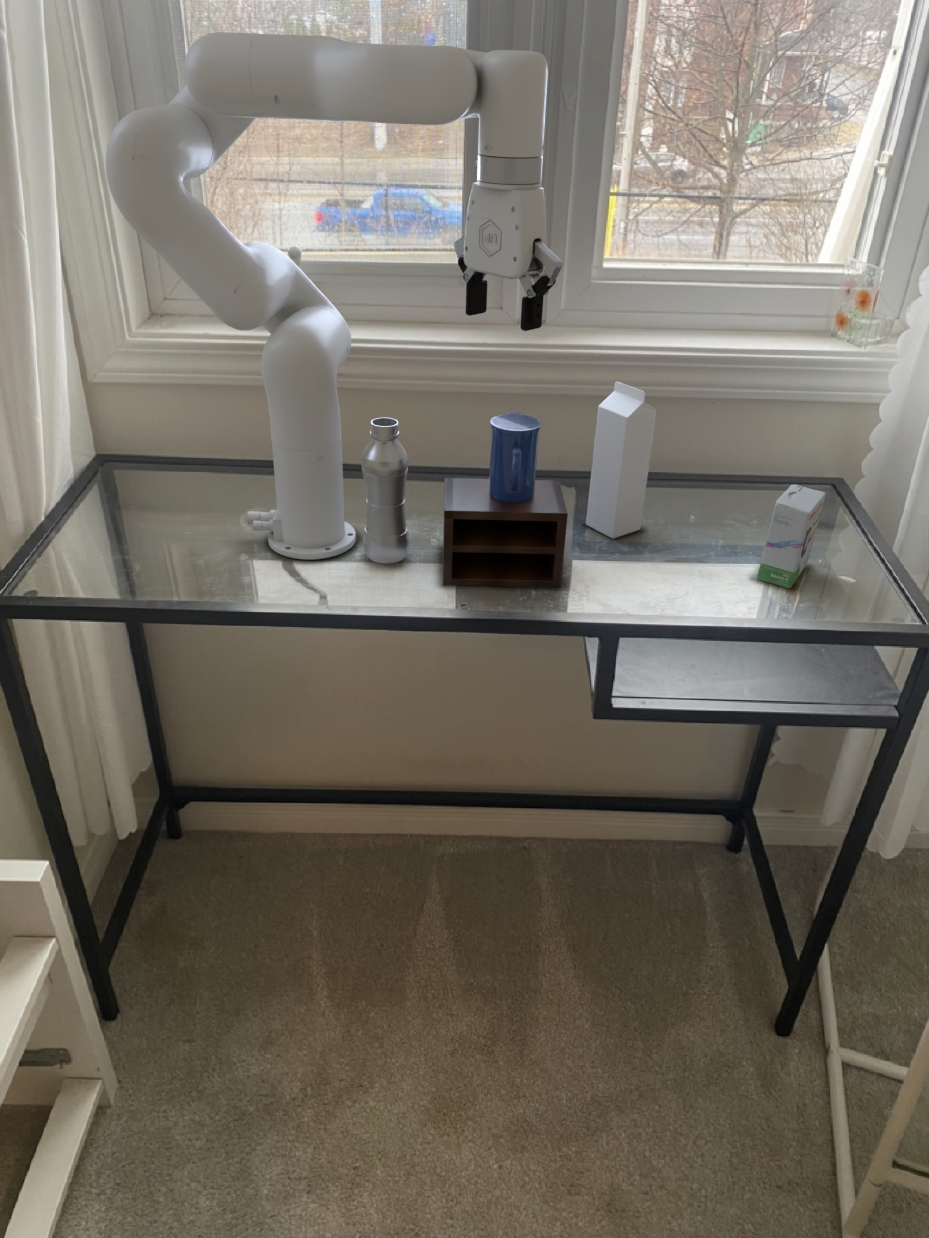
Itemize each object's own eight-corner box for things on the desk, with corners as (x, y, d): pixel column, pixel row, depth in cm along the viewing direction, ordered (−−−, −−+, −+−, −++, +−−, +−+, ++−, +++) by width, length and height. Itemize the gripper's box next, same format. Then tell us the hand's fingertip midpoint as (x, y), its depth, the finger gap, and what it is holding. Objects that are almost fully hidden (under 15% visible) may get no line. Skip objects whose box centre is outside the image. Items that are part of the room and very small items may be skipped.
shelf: (442, 585, 130) (444, 510, 124) (443, 548, 139) (444, 477, 134) (560, 587, 130) (567, 513, 125) (553, 551, 140) (559, 480, 134)
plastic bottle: (374, 573, 132) (371, 433, 122) (356, 552, 137) (351, 417, 127) (417, 564, 135) (417, 427, 125) (397, 544, 140) (396, 411, 130)
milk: (612, 539, 144) (629, 395, 132) (584, 524, 148) (599, 384, 136) (641, 529, 147) (660, 388, 136) (613, 515, 151) (629, 377, 140)
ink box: (773, 557, 140) (789, 481, 134) (808, 566, 138) (827, 490, 132) (755, 580, 134) (771, 502, 128) (792, 590, 132) (810, 511, 126)
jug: (488, 511, 124) (491, 437, 119) (485, 480, 133) (488, 410, 128) (539, 512, 125) (545, 438, 120) (533, 481, 133) (538, 411, 128)
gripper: (436, 167, 116) (434, 312, 124) (542, 182, 105) (532, 340, 114) (480, 164, 120) (476, 304, 129) (587, 178, 110) (574, 330, 118)
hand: (502, 321), depth 121 cm, fingers open, 9 cm apart
